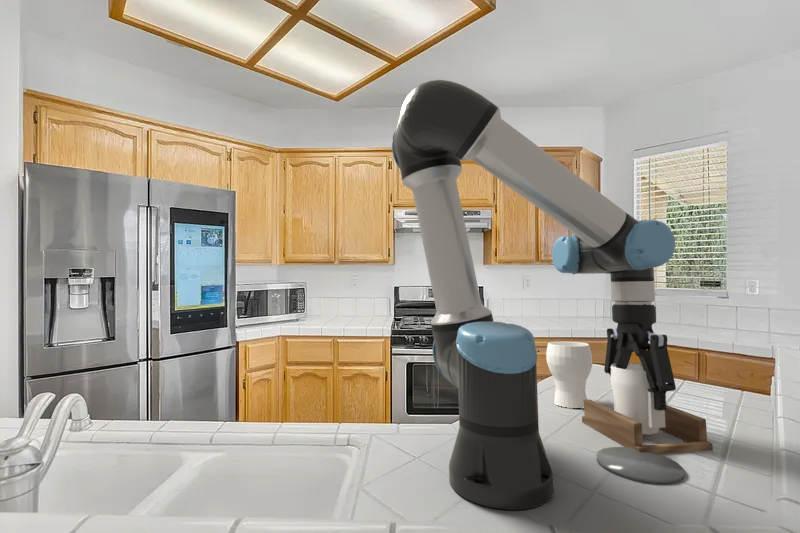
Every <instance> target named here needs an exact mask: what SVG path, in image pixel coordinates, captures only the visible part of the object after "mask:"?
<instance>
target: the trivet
mask: <svg viewBox="0 0 800 533" xmlns="http://www.w3.org/2000/svg"><path fill="white" fill-rule="evenodd" d="M596 461H597V463H598V465H599V466H600V467H601V468H603V469H604V470H605V471H607V472H610V473H611V474H613V475H615V476H618V477H621V478H624V479H627V480H630V481H633V482H634V481H635V482H638V483H644V484H651V485H671V484H676V483H678V482H681V481H682V480H683V479H684V478H685V470H684V468H683V466H682V465H680V464H679V462H677V461H675V460H673V459H672V458H669V457H667V456H665V455H664V454H657V453H654V452H651V451H643V452H639V451H637V450H635V449H634V448H629V447H624V446H610V447H605V448H602V449H600V450H597V452H596Z"/></svg>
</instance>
